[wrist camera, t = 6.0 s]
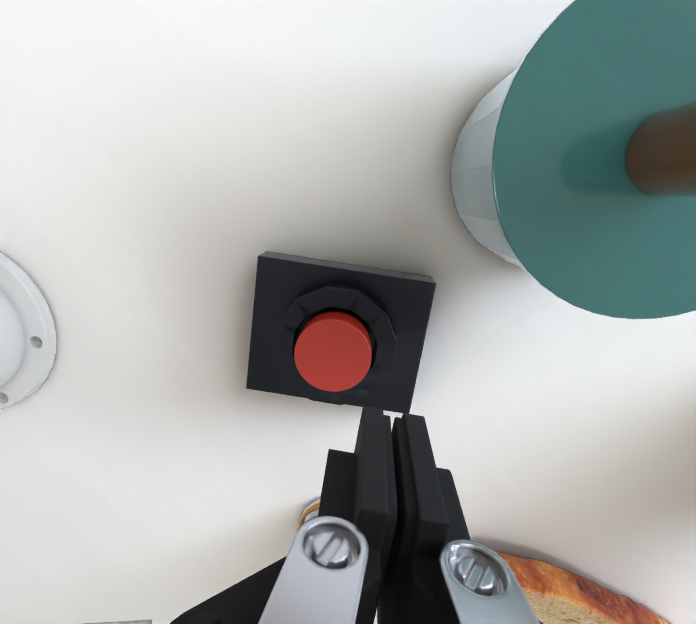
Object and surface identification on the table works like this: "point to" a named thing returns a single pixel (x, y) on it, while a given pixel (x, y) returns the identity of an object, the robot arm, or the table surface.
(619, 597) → the bread slice
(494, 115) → the canister
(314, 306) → the button housing
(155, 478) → the table surface
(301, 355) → the release button
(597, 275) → the lid
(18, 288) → the robot arm
